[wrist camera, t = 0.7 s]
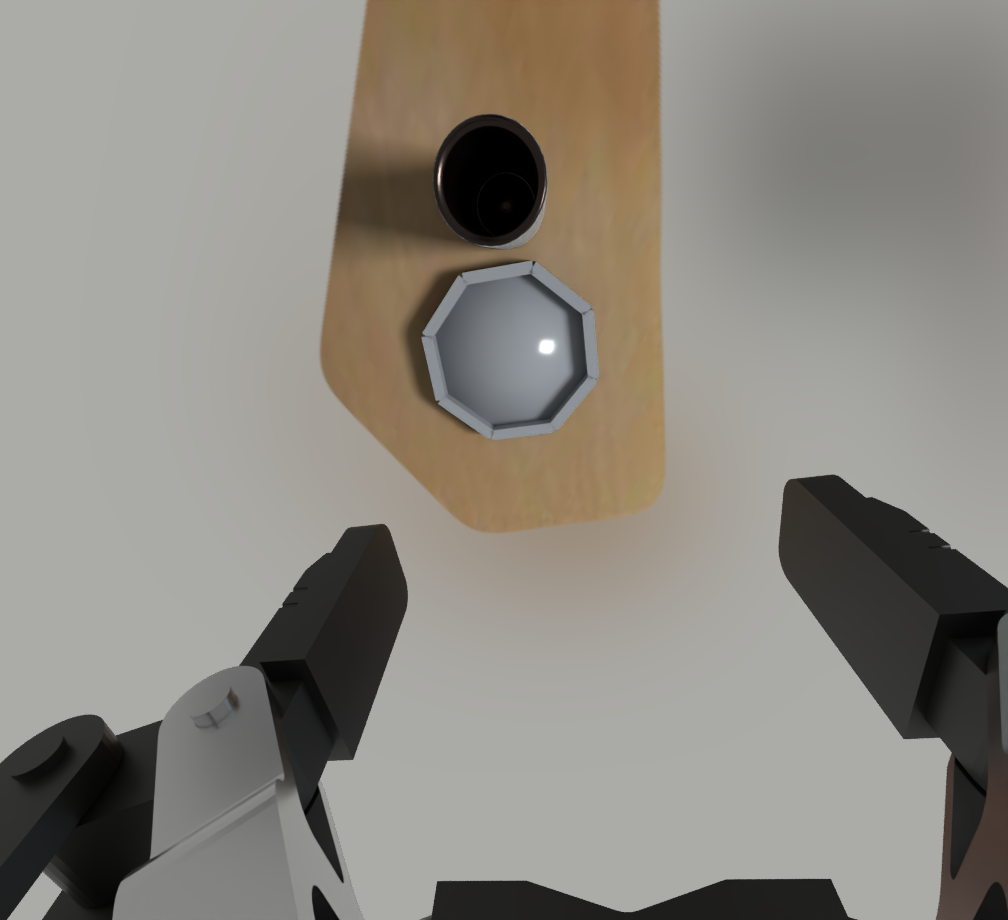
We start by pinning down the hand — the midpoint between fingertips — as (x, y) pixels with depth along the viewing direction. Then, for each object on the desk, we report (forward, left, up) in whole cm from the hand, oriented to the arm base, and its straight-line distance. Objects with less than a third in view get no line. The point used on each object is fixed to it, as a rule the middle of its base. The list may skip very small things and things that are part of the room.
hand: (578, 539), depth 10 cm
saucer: (0, -3, -23) cm, 23 cm away
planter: (-8, -2, -23) cm, 25 cm away
